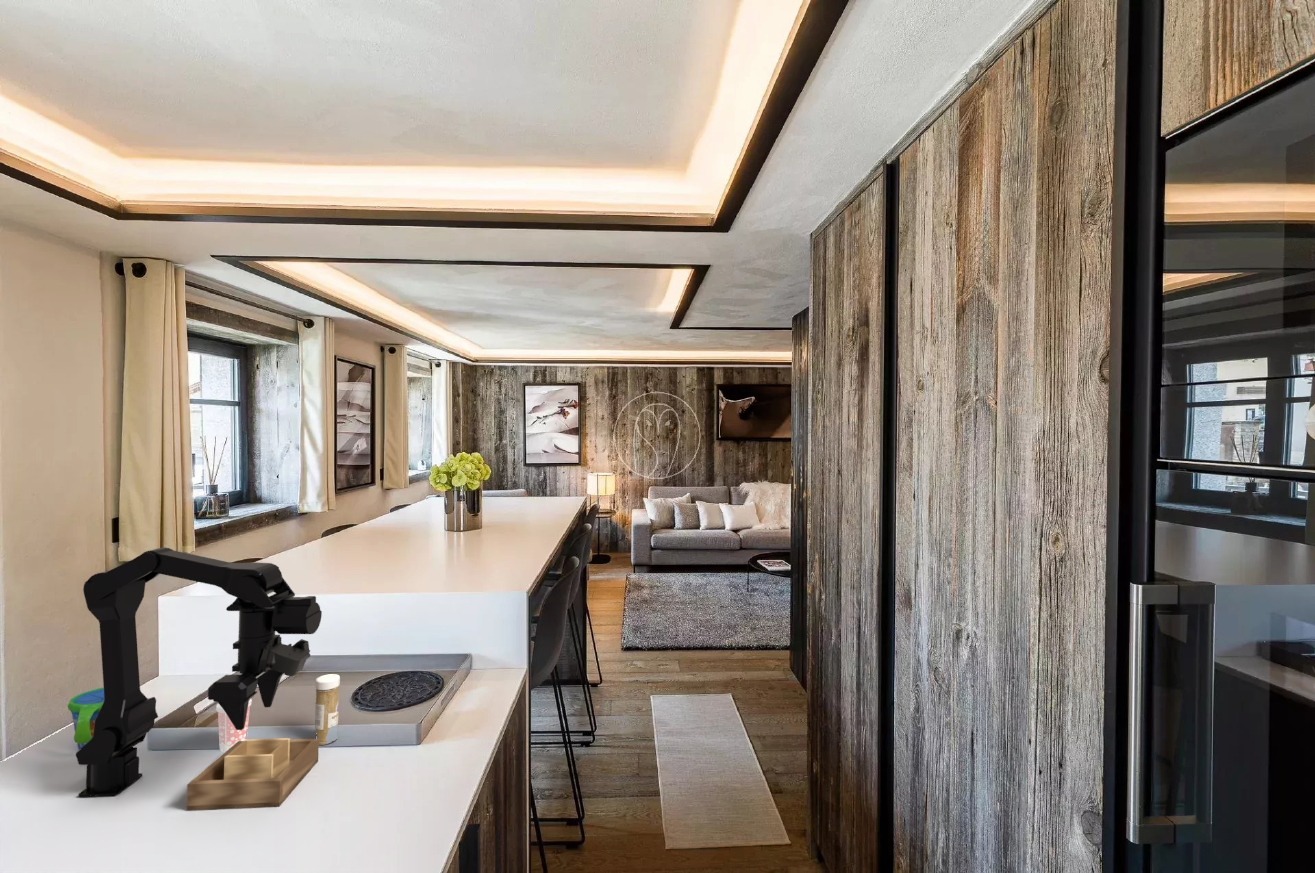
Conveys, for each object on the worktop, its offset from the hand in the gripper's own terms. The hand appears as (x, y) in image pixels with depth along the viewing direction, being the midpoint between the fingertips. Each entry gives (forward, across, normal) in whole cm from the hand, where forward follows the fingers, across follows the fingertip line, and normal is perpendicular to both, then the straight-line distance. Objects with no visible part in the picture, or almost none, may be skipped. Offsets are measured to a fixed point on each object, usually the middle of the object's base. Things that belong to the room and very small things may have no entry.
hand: (254, 717), depth 111 cm
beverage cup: (+13, +15, +12) cm, 23 cm away
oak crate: (+12, 0, -1) cm, 12 cm away
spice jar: (+12, +16, -6) cm, 21 cm away
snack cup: (+13, +18, +39) cm, 45 cm away
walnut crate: (+12, 0, -1) cm, 12 cm away
